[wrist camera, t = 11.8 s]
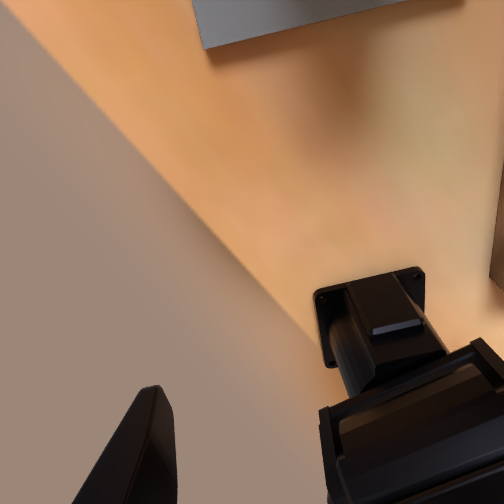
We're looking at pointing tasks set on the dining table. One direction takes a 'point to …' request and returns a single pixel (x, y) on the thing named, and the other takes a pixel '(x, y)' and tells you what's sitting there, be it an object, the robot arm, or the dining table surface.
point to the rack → (499, 243)
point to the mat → (267, 16)
